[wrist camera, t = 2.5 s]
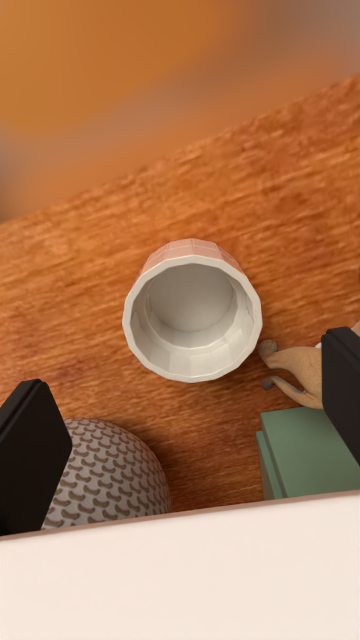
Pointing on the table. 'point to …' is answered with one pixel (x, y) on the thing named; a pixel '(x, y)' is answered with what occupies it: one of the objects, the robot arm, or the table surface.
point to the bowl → (192, 312)
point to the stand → (303, 455)
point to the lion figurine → (297, 370)
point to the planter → (107, 477)
